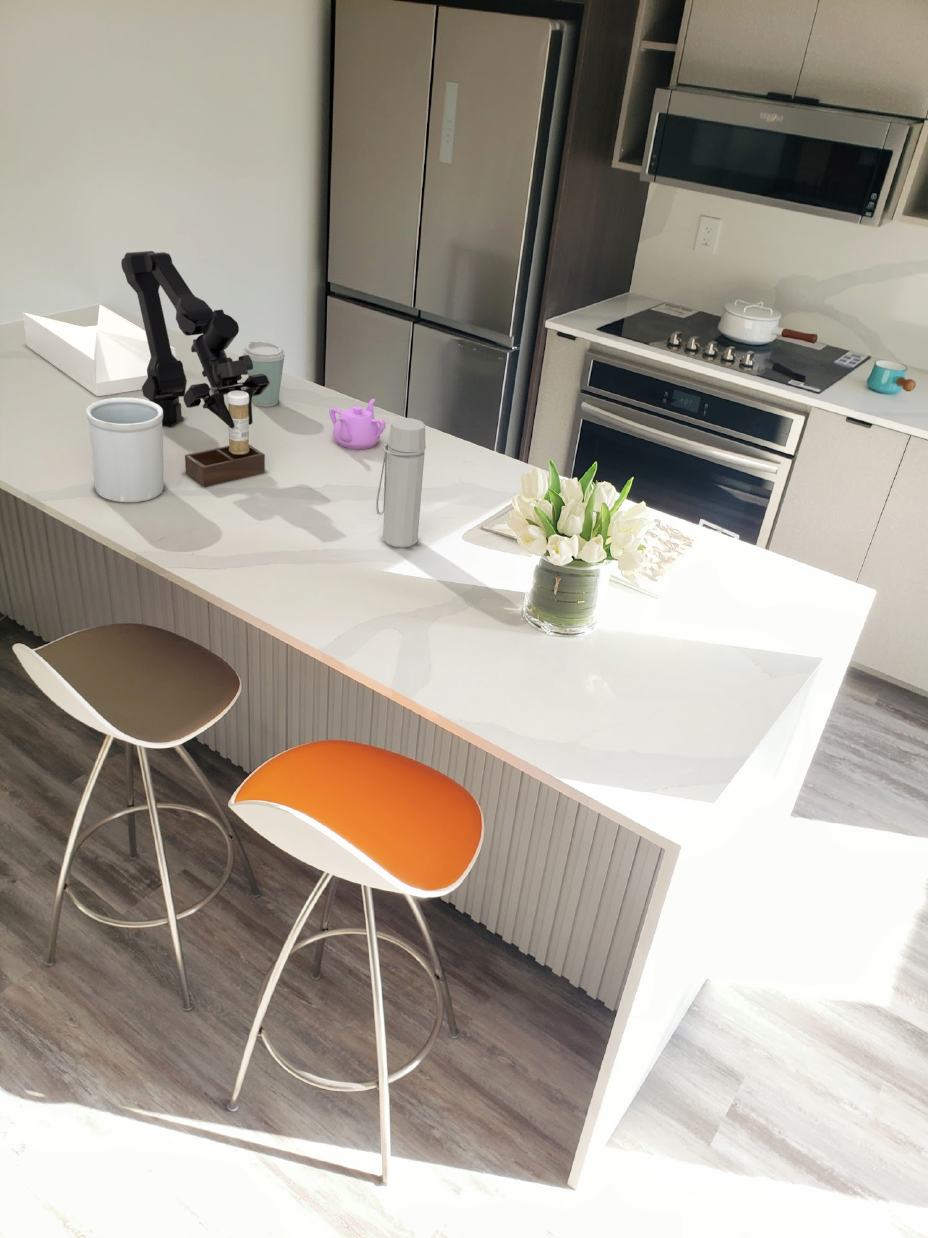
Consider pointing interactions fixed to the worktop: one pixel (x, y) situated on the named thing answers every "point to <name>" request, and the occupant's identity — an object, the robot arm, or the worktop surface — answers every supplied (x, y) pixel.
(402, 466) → the water bottle
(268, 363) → the disposable coffee cup
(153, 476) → the utensil holder
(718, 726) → the worktop surface
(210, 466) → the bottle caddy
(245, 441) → the sprinkles bottle
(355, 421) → the teapot
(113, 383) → the white shallow tray
